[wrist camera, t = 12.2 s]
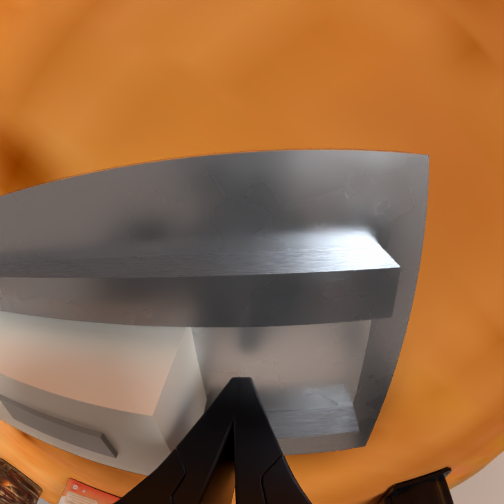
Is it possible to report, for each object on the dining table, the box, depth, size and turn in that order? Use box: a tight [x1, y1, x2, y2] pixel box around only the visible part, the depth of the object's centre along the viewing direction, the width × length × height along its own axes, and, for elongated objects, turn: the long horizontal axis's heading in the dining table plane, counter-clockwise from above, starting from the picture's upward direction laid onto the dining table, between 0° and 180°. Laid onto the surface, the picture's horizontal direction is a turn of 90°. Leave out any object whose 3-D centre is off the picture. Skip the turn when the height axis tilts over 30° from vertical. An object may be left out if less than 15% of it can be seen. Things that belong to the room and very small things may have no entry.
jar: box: [0, 458, 42, 504], centre depth 24 cm, size 12×12×15 cm
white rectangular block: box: [0, 311, 207, 476], centre depth 8 cm, size 12×4×4 cm, turn 93°
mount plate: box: [0, 149, 429, 455], centre depth 10 cm, size 21×14×3 cm, turn 94°
